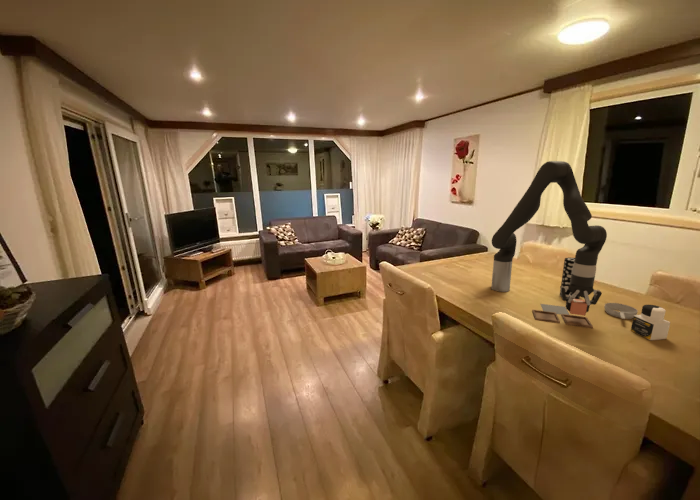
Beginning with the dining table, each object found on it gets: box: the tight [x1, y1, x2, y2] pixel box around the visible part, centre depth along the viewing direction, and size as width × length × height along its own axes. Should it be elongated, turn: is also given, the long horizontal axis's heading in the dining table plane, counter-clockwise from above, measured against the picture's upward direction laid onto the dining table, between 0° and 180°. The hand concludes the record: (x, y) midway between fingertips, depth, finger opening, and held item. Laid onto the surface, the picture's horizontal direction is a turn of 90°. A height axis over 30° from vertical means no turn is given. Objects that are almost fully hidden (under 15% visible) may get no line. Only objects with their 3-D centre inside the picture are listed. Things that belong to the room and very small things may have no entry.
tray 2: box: [560, 314, 594, 329], centre depth 121 cm, size 9×9×1 cm
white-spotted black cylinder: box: [559, 257, 581, 300], centre depth 145 cm, size 8×8×20 cm
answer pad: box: [540, 303, 571, 315], centre depth 133 cm, size 10×10×1 cm
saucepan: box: [604, 302, 639, 320], centre depth 123 cm, size 11×18×4 cm, turn 141°
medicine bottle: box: [630, 304, 671, 341], centre depth 109 cm, size 7×7×12 cm
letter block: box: [568, 299, 587, 317], centre depth 120 cm, size 5×5×5 cm
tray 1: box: [531, 309, 561, 324], centre depth 127 cm, size 9×9×1 cm
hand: (576, 310), depth 121 cm, fingers closed on letter block, 5 cm apart
